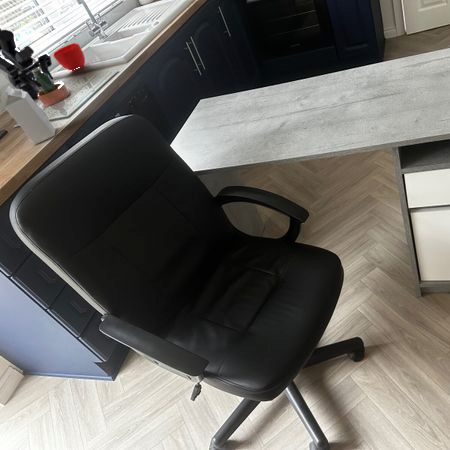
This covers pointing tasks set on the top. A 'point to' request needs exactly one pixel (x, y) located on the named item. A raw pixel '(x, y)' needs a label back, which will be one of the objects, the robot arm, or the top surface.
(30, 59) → the robot arm
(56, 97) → the pot
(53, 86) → the green bottle
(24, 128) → the milk carton
